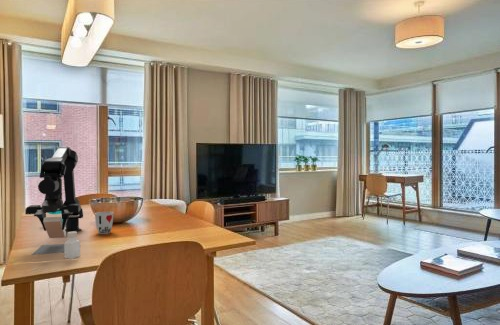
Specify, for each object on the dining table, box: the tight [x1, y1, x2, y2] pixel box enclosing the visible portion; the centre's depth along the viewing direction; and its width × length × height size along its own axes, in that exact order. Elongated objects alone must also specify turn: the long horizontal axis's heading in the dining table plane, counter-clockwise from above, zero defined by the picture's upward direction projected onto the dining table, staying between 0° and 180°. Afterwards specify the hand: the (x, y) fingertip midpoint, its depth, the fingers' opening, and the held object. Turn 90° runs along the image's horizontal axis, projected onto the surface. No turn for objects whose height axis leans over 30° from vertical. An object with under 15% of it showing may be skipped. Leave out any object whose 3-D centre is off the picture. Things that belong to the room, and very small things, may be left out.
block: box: [43, 216, 67, 239], centre depth 142 cm, size 2×6×12 cm
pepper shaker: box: [63, 231, 81, 260], centre depth 129 cm, size 4×4×10 cm
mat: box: [31, 243, 65, 256], centre depth 140 cm, size 14×12×1 cm
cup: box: [94, 211, 114, 235], centre depth 168 cm, size 8×8×10 cm
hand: (54, 230), depth 141 cm, fingers closed on block, 6 cm apart
